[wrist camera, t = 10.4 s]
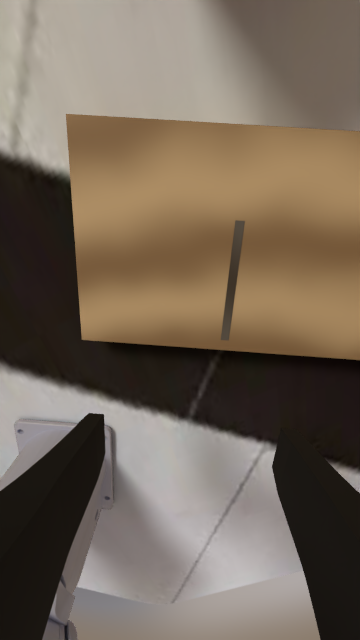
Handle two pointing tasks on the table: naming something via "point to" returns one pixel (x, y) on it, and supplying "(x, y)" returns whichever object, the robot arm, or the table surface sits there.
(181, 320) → the oak board
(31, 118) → the table surface
